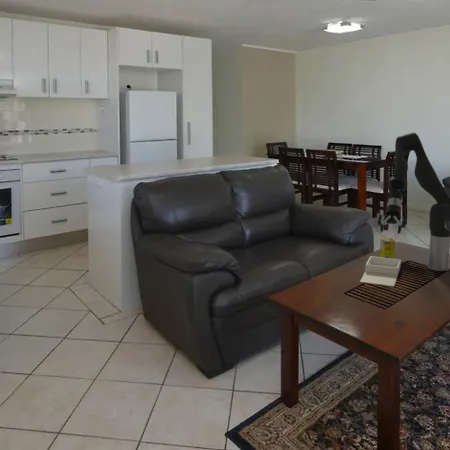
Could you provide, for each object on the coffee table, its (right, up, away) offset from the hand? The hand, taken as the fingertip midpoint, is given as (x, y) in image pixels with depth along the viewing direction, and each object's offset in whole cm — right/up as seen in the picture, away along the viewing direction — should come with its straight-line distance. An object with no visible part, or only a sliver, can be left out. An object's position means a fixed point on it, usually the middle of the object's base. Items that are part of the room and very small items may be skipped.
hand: (390, 232), depth 256 cm
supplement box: (-3, -15, -4) cm, 16 cm away
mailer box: (-14, -20, -27) cm, 36 cm away
